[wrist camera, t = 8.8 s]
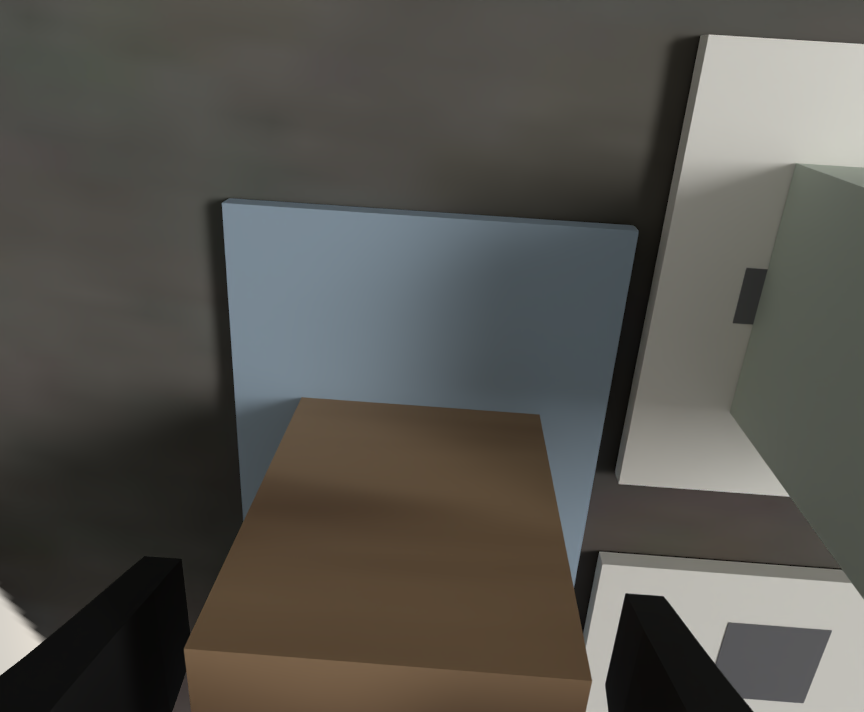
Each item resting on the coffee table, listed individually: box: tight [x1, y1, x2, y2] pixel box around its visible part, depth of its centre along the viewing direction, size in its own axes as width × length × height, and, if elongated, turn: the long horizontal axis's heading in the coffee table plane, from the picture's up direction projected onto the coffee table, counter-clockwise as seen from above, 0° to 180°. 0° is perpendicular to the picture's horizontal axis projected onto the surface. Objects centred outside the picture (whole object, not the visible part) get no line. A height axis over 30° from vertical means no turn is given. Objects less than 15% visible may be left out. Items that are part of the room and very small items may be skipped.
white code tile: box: [583, 551, 864, 712], centre depth 16 cm, size 8×8×1 cm
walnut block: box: [184, 397, 592, 712], centre depth 11 cm, size 4×4×6 cm
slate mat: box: [222, 198, 639, 586], centre depth 14 cm, size 12×7×1 cm, turn 177°
